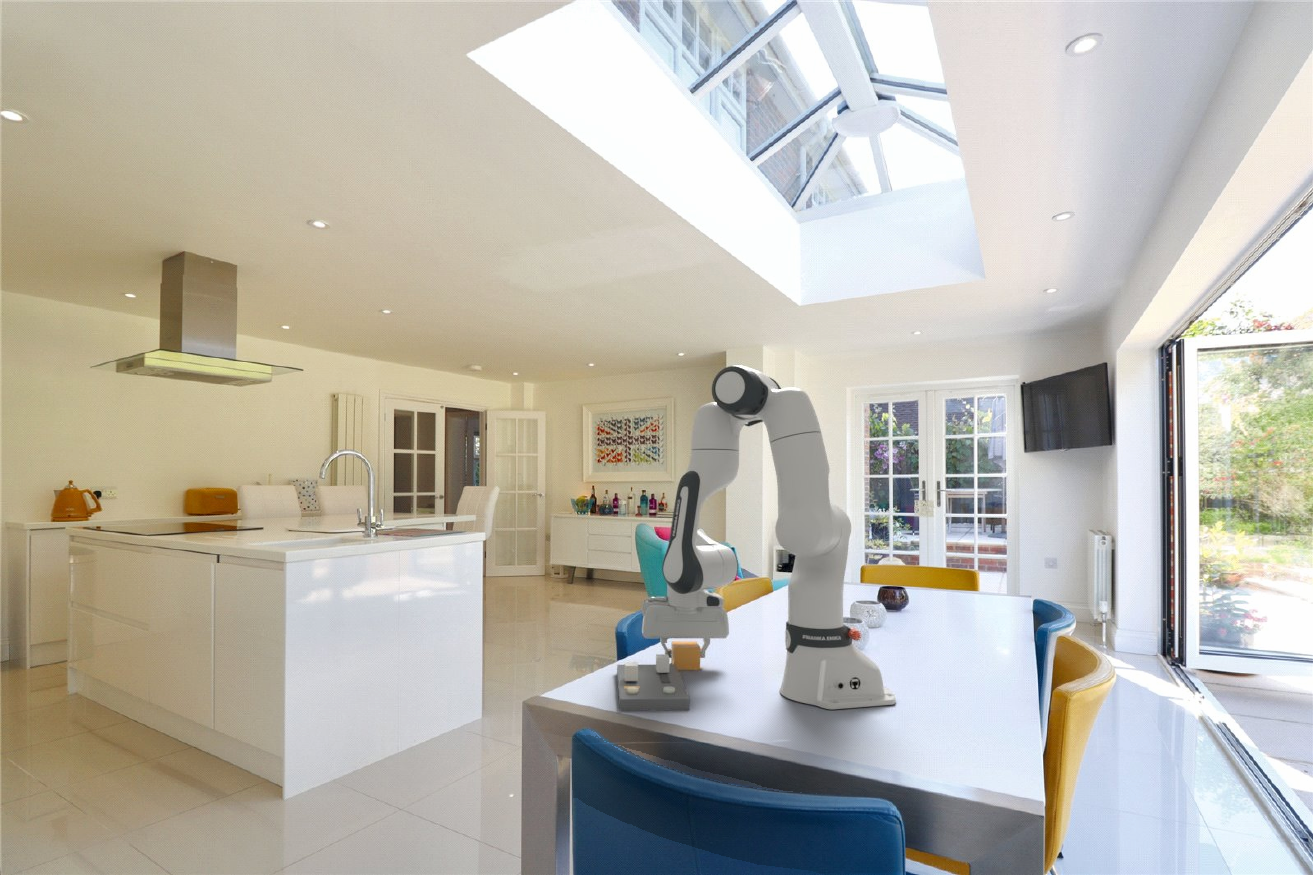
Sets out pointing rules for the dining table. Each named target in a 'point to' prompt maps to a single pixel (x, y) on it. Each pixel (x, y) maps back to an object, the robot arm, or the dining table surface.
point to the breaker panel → (652, 690)
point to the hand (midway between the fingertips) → (684, 657)
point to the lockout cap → (686, 655)
